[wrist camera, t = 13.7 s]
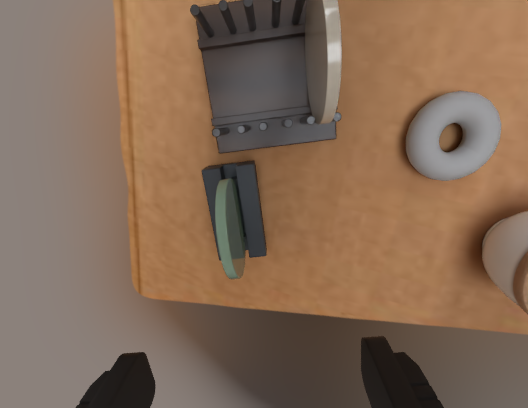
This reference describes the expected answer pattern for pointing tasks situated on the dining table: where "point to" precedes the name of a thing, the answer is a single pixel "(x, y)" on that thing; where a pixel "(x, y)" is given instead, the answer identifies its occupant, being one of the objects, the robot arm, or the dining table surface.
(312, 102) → the cream plate
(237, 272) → the sage plate
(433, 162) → the donut
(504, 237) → the lidded bowl
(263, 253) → the plate stand
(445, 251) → the dining table surface
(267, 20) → the dish rack
